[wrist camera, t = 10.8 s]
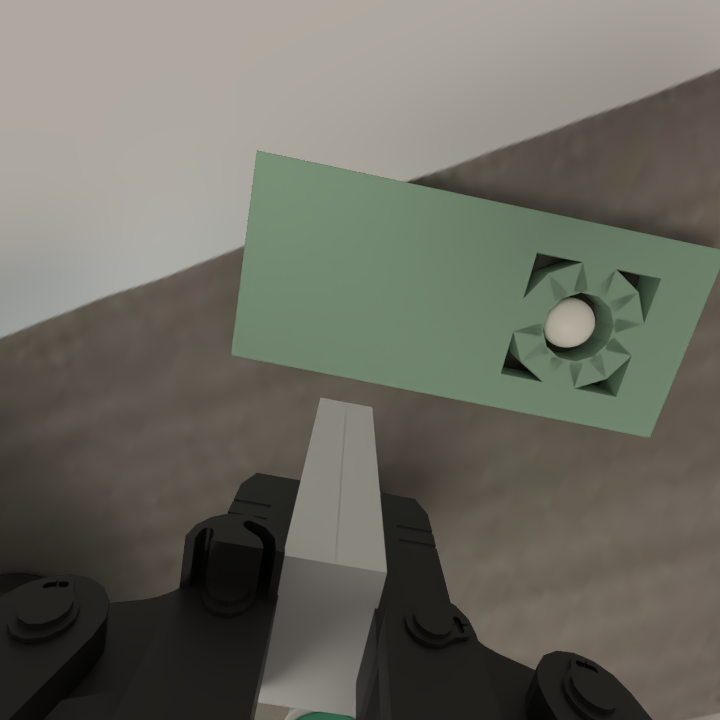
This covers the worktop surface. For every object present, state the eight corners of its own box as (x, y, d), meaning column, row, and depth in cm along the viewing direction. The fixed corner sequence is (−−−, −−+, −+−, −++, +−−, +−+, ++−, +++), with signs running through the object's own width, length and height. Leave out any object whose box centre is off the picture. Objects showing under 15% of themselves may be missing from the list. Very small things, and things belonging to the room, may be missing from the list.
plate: (240, 346, 35) (231, 354, 32) (265, 157, 31) (256, 150, 29) (631, 424, 36) (649, 437, 34) (700, 250, 32) (727, 250, 30)
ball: (585, 357, 30) (586, 349, 33) (602, 305, 29) (602, 302, 32) (531, 343, 32) (537, 337, 35) (545, 293, 31) (550, 291, 34)
